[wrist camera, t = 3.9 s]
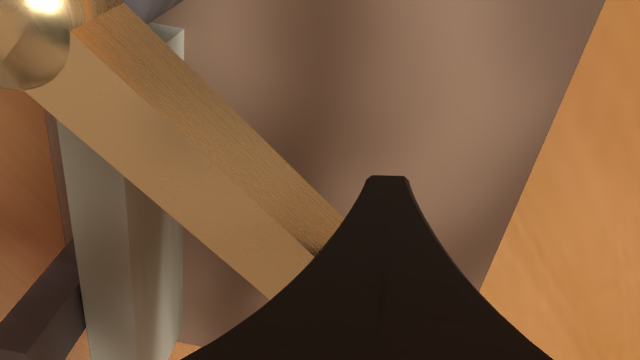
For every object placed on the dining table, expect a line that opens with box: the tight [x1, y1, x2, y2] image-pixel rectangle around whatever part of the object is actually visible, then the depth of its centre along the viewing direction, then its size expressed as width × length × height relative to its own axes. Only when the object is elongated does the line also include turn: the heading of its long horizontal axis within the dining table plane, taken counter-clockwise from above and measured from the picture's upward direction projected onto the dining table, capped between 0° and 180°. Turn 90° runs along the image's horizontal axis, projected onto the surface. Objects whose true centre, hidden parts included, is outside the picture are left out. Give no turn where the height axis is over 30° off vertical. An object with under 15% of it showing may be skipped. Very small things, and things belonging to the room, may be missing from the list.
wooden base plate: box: [0, 0, 605, 360], centre depth 15 cm, size 16×20×8 cm
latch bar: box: [0, 0, 344, 300], centre depth 11 cm, size 14×3×2 cm, turn 43°
